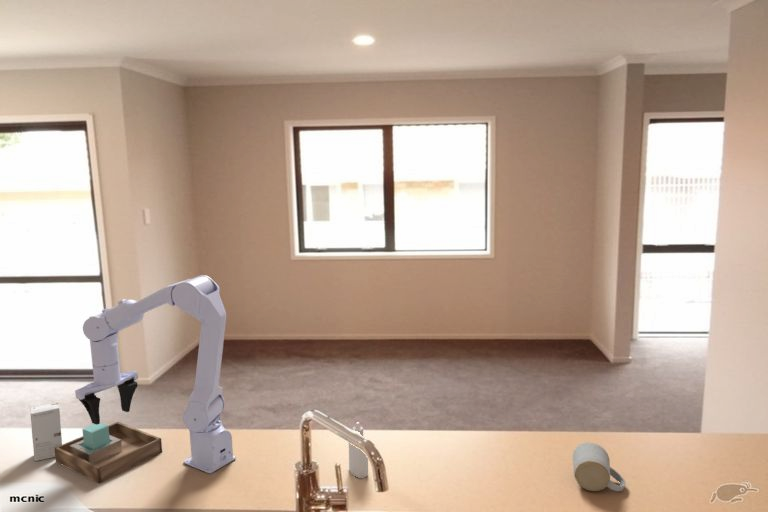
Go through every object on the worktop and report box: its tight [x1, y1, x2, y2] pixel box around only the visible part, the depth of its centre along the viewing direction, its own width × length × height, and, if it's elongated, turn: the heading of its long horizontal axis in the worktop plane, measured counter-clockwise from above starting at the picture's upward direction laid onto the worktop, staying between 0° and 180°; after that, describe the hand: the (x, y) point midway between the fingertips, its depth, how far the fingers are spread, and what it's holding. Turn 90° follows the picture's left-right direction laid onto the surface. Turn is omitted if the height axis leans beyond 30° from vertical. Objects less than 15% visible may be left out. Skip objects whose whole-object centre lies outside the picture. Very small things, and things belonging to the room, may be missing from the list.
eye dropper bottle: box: [348, 421, 369, 479], centre depth 121 cm, size 4×6×12 cm
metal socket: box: [70, 435, 122, 464], centre depth 129 cm, size 8×8×3 cm
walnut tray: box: [54, 421, 163, 484], centre depth 130 cm, size 18×16×4 cm
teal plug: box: [82, 422, 110, 450], centre depth 128 cm, size 4×4×7 cm
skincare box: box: [29, 402, 63, 462], centre depth 130 cm, size 6×4×12 cm
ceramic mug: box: [572, 442, 626, 493], centre depth 116 cm, size 11×8×8 cm
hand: (111, 417), depth 130 cm, fingers open, 7 cm apart
